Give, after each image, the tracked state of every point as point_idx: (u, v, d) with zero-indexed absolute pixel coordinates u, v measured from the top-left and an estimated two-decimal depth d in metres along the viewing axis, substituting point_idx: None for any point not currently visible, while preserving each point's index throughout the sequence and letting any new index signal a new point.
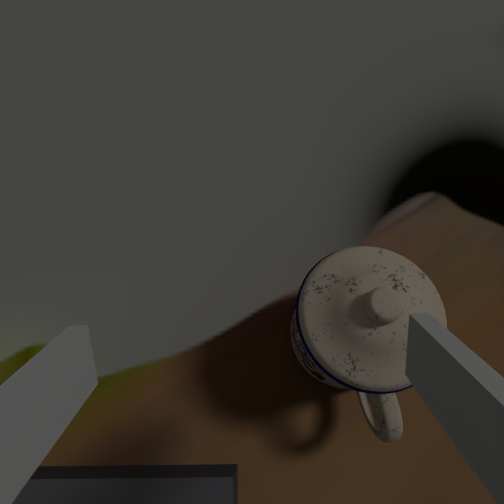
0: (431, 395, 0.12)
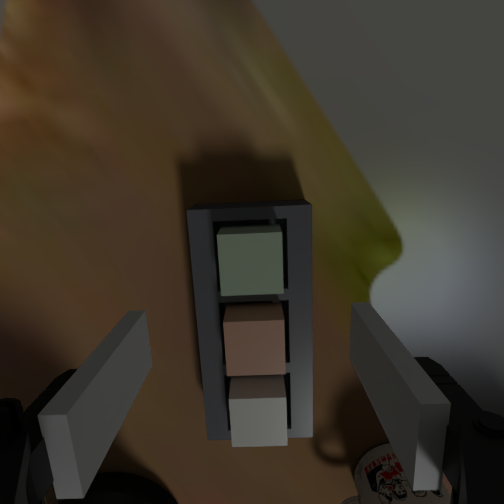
0: (364, 375, 0.13)
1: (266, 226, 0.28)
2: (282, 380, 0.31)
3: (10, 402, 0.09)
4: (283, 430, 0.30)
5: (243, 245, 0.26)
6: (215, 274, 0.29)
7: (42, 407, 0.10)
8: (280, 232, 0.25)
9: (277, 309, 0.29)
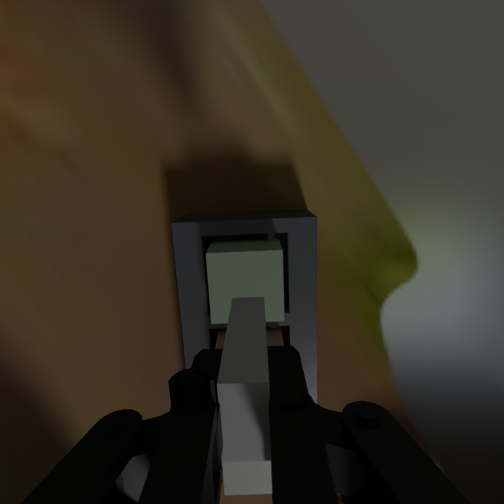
0: None
1: (264, 241, 0.24)
2: None
3: (205, 372, 0.10)
4: None
5: (237, 265, 0.22)
6: (205, 296, 0.25)
7: None
8: (280, 250, 0.22)
9: (276, 337, 0.25)
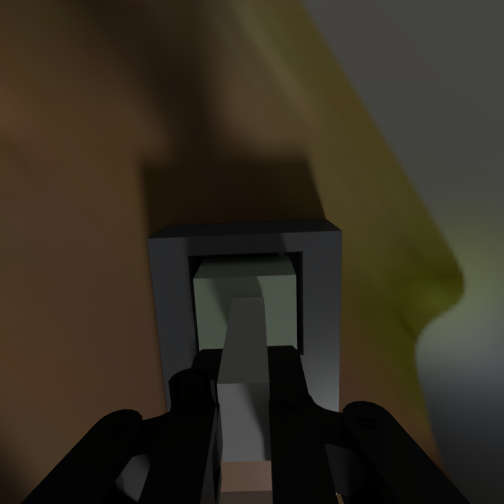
0: None
1: (270, 260, 0.19)
2: None
3: (205, 372, 0.10)
4: None
5: (235, 295, 0.16)
6: (193, 334, 0.19)
7: None
8: (293, 275, 0.16)
9: None
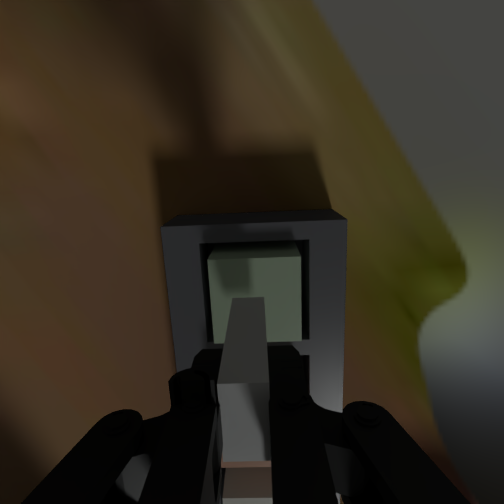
0: None
1: (277, 245, 0.20)
2: None
3: (205, 372, 0.10)
4: None
5: (245, 275, 0.18)
6: (204, 318, 0.20)
7: None
8: (298, 256, 0.18)
9: None
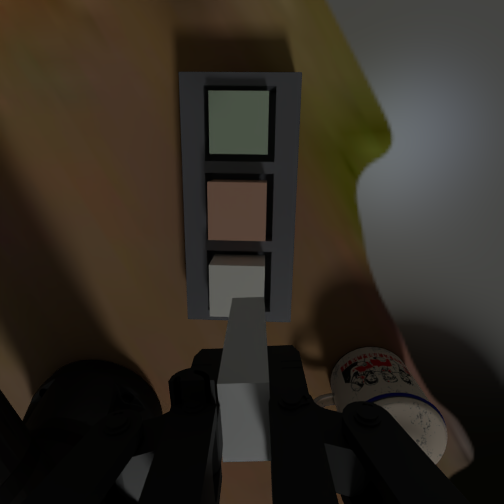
0: None
1: None
2: (263, 258, 0.32)
3: (205, 372, 0.10)
4: None
5: (232, 103, 0.27)
6: (203, 142, 0.30)
7: None
8: (267, 91, 0.27)
9: None
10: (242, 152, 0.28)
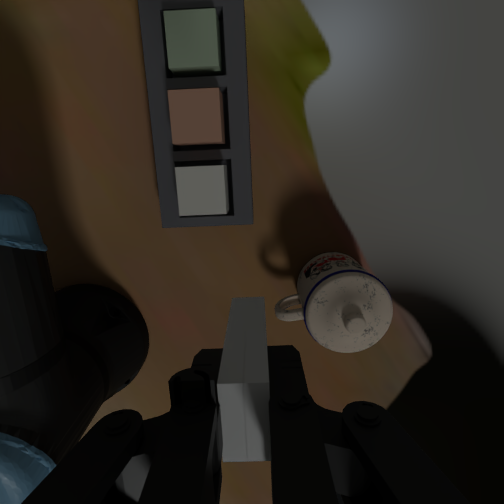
0: None
1: None
2: (224, 165, 0.36)
3: (205, 372, 0.10)
4: (222, 198, 0.35)
5: (185, 21, 0.32)
6: (164, 61, 0.34)
7: None
8: (214, 9, 0.32)
9: None
10: (197, 65, 0.33)
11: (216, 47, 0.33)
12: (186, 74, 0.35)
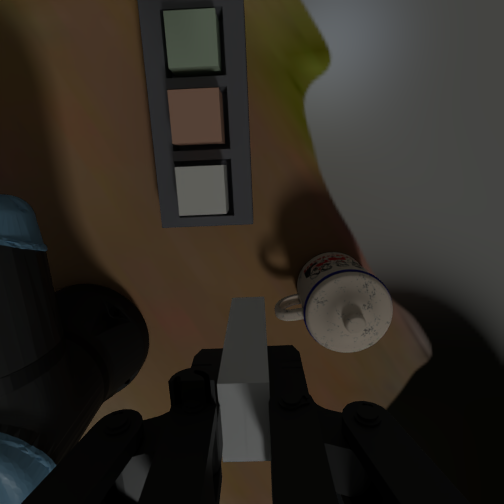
0: None
1: None
2: None
3: (205, 372, 0.10)
4: (222, 198, 0.35)
5: (185, 20, 0.32)
6: (163, 61, 0.34)
7: None
8: (213, 8, 0.32)
9: None
10: (196, 65, 0.33)
11: (216, 47, 0.33)
12: (186, 74, 0.35)
